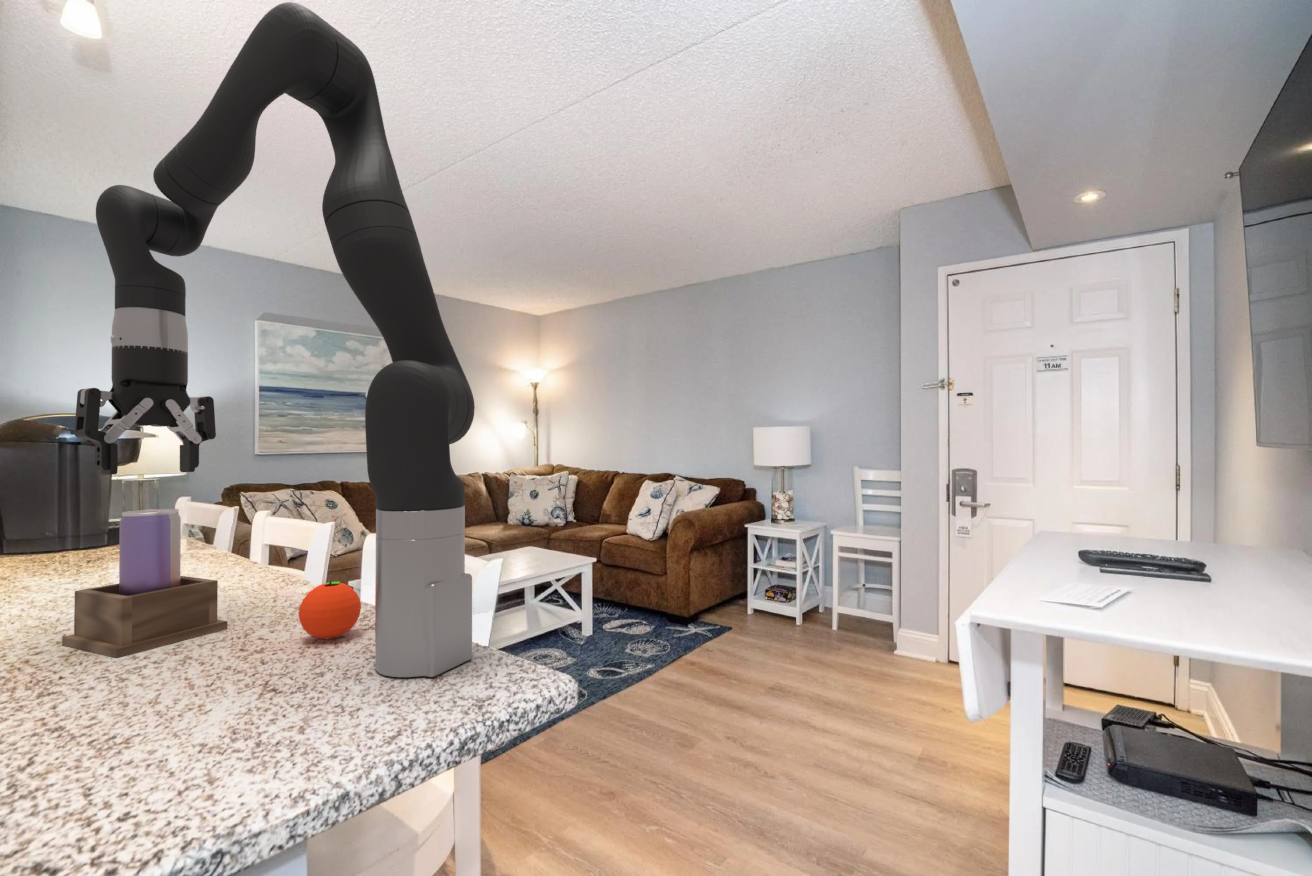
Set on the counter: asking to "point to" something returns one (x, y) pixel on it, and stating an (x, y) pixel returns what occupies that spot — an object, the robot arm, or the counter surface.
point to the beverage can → (149, 551)
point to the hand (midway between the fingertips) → (150, 473)
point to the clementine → (329, 610)
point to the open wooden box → (143, 617)
